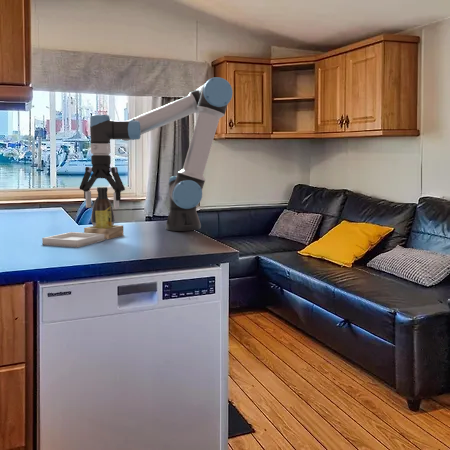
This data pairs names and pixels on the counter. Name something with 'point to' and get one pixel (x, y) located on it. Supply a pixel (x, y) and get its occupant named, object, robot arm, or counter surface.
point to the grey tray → (73, 239)
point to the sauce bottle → (103, 209)
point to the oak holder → (106, 231)
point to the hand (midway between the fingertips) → (102, 208)
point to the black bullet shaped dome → (93, 218)
